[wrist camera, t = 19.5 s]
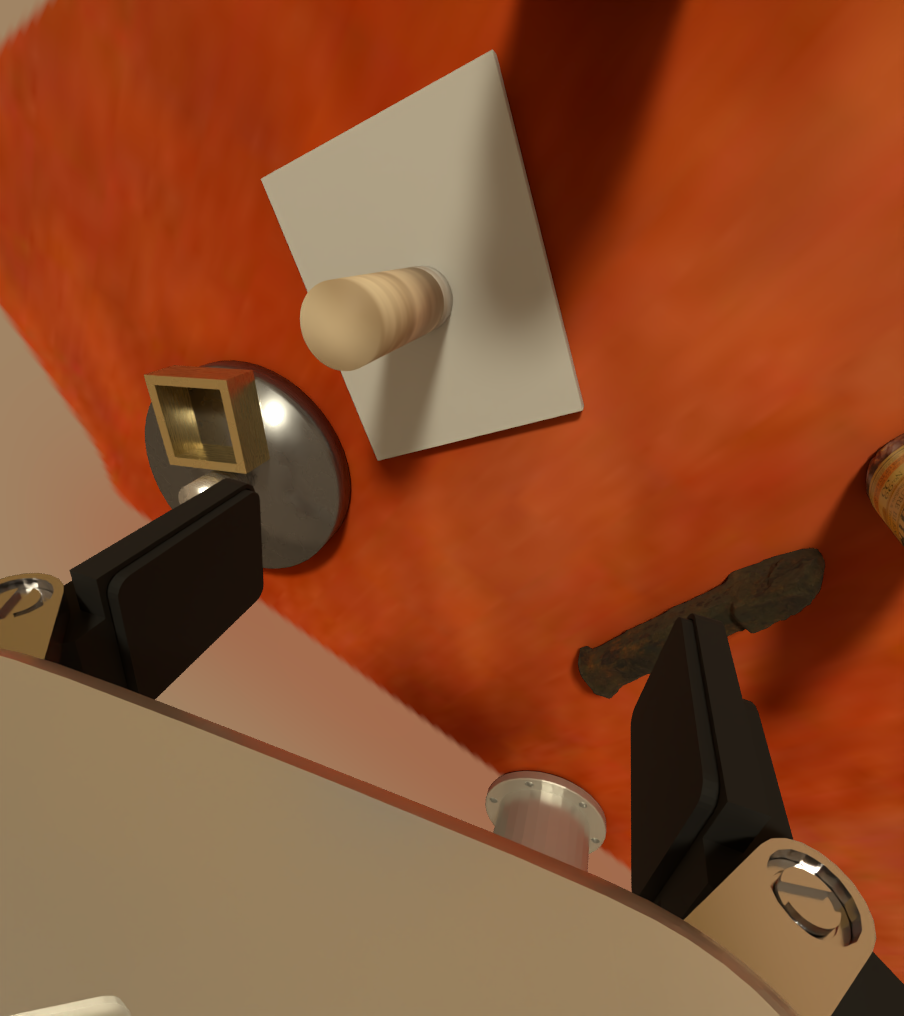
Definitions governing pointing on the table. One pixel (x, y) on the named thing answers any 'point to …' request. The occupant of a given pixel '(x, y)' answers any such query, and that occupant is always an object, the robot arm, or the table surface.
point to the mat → (438, 260)
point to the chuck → (249, 450)
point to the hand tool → (710, 616)
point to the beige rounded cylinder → (373, 314)
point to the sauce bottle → (888, 485)
